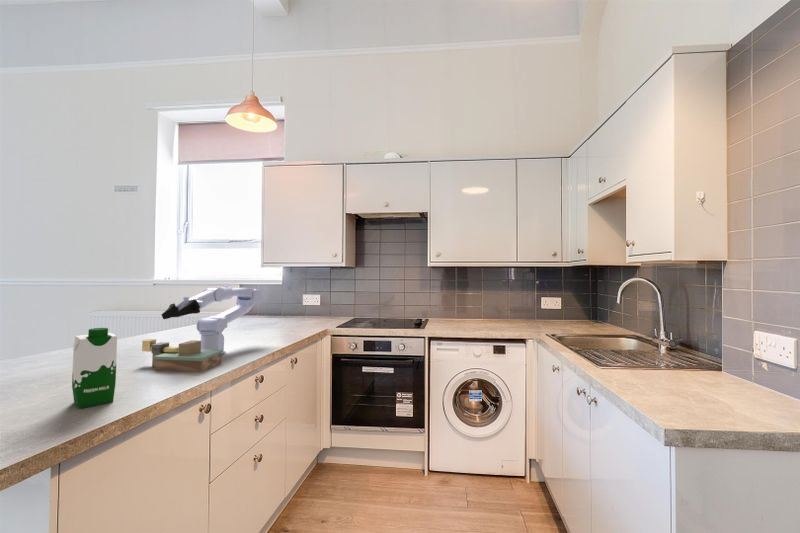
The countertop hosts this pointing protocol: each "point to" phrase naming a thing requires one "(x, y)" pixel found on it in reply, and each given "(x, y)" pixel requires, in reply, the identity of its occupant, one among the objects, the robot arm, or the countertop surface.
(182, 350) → the lid
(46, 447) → the countertop surface
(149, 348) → the wooden block
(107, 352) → the milk carton
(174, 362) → the wooden box
